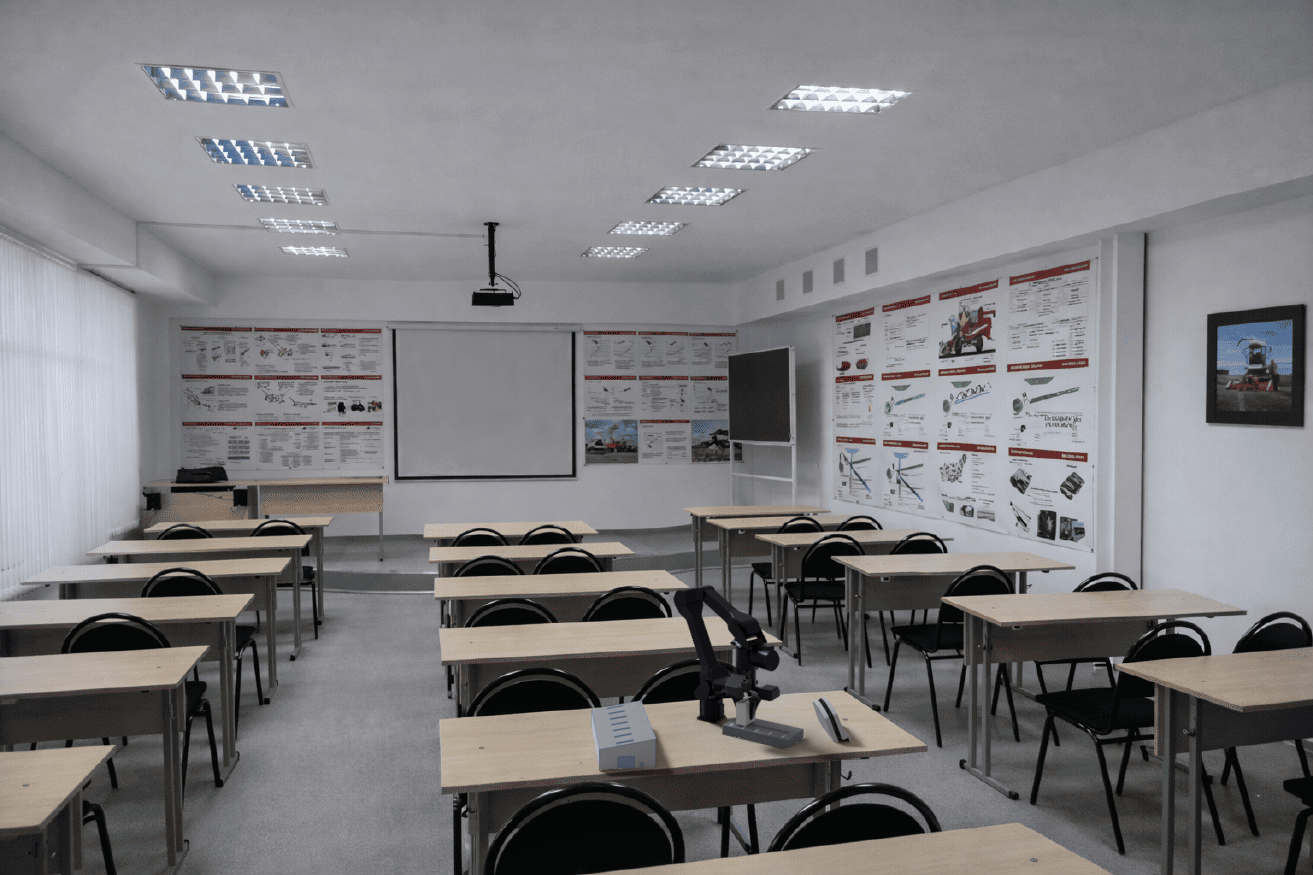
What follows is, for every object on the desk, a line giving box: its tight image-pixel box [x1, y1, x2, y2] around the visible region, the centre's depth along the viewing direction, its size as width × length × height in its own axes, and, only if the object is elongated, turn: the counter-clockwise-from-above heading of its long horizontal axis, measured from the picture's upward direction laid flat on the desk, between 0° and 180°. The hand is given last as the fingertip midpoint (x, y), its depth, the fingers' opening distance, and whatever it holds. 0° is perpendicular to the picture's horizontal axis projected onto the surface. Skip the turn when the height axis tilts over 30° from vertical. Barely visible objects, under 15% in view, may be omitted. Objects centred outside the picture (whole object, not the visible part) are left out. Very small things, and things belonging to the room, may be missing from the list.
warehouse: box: [590, 700, 657, 771], centre depth 224 cm, size 30×14×8 cm, turn 8°
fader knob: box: [735, 696, 757, 726], centre depth 234 cm, size 3×6×6 cm, turn 145°
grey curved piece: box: [811, 696, 853, 743], centre depth 235 cm, size 17×5×10 cm, turn 3°
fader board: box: [721, 716, 805, 750], centre depth 231 cm, size 20×10×3 cm, turn 55°
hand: (745, 718), depth 234 cm, fingers closed on fader knob, 3 cm apart
